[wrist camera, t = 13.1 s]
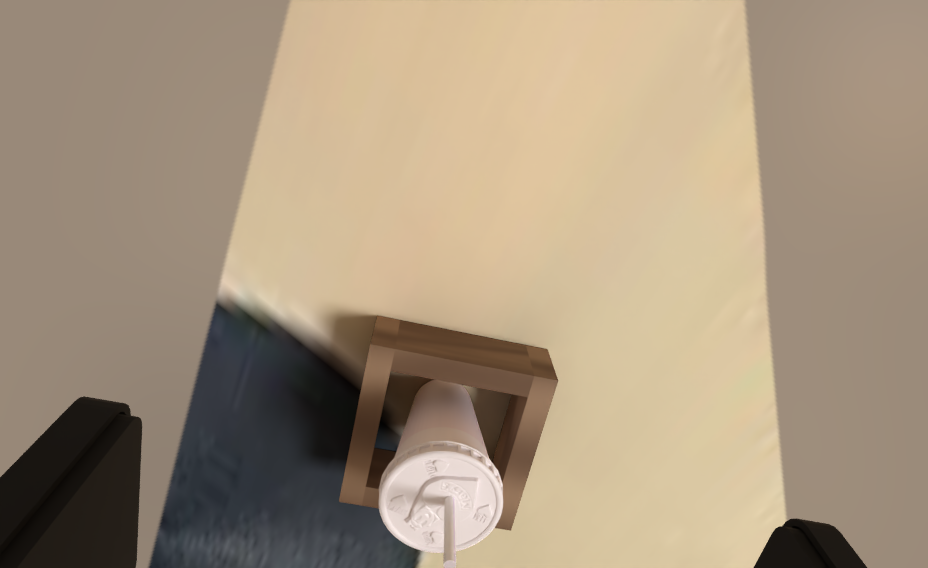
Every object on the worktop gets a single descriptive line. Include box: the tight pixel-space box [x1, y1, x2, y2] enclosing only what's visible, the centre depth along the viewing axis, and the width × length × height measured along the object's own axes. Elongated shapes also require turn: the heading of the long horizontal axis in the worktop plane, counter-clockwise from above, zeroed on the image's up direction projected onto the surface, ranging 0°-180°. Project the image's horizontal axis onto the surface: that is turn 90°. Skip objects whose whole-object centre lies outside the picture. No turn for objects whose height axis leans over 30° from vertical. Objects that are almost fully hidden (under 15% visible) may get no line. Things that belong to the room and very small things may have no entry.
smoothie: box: [379, 380, 503, 568], centre depth 34 cm, size 6×6×14 cm
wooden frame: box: [339, 316, 558, 530], centre depth 39 cm, size 11×11×4 cm
